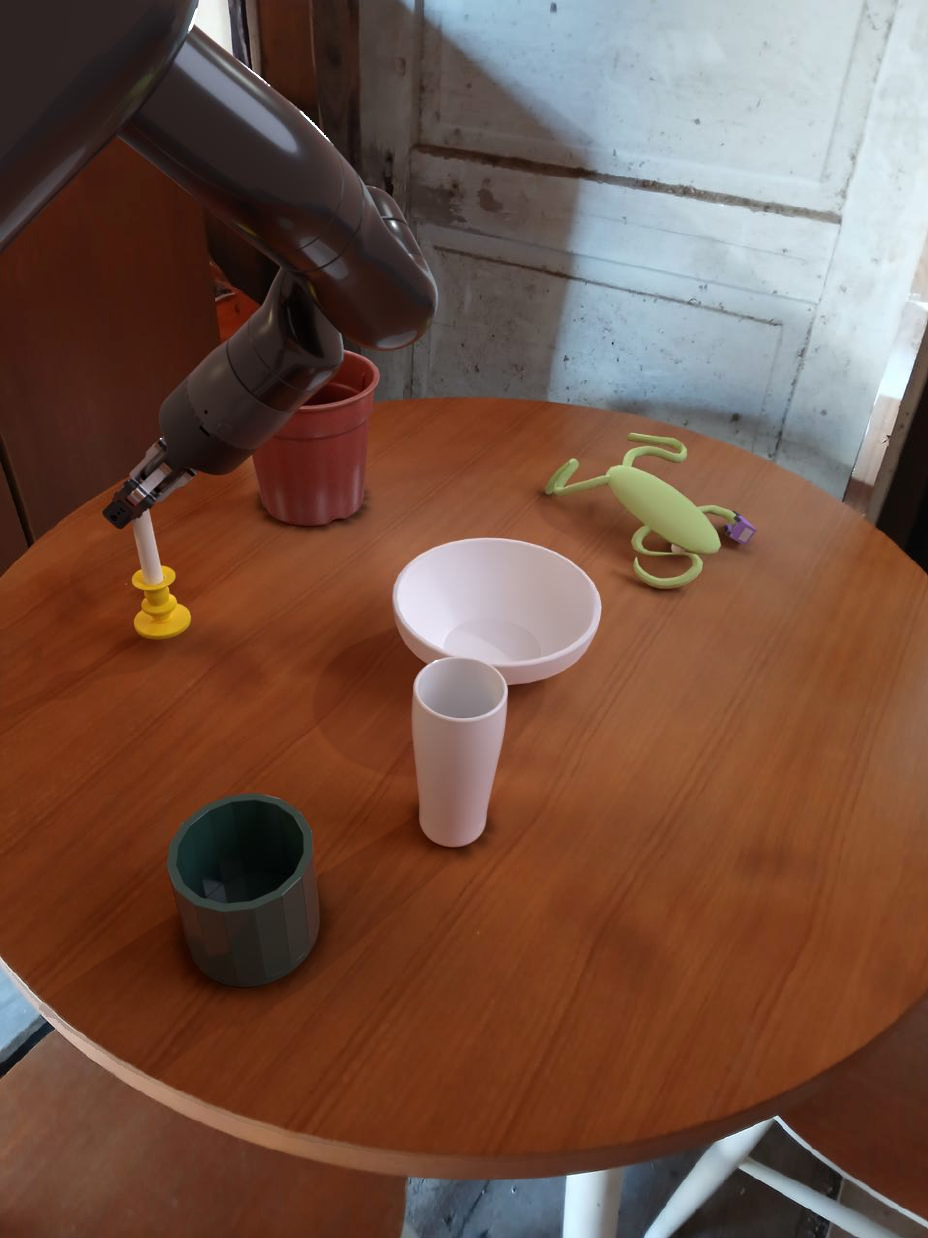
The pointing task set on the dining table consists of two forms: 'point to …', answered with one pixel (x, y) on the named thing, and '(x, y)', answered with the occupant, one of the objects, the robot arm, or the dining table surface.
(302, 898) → the cup
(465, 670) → the drinking glass
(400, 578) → the bowl
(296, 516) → the flower pot
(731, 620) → the dining table surface
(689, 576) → the figurine
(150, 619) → the candle
